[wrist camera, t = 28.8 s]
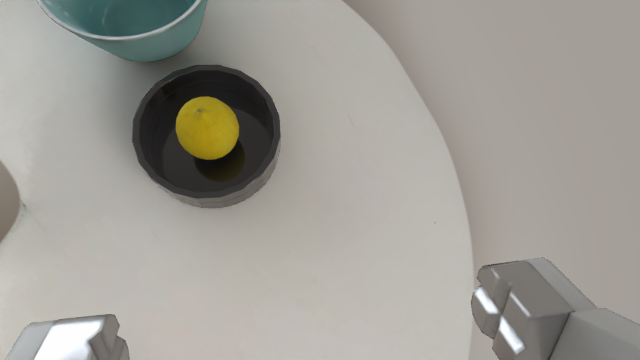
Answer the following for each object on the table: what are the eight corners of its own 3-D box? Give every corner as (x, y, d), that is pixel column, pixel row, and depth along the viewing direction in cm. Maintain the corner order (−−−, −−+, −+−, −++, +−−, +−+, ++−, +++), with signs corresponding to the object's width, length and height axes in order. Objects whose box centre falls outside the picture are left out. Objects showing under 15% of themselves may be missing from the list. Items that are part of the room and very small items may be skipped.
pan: (253, 73, 43) (251, 49, 38) (298, 181, 40) (301, 168, 36) (131, 109, 40) (114, 88, 36) (170, 228, 37) (157, 220, 33)
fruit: (252, 137, 40) (247, 101, 32) (220, 180, 39) (207, 153, 31) (208, 109, 40) (192, 67, 33) (174, 151, 39) (150, 117, 31)
